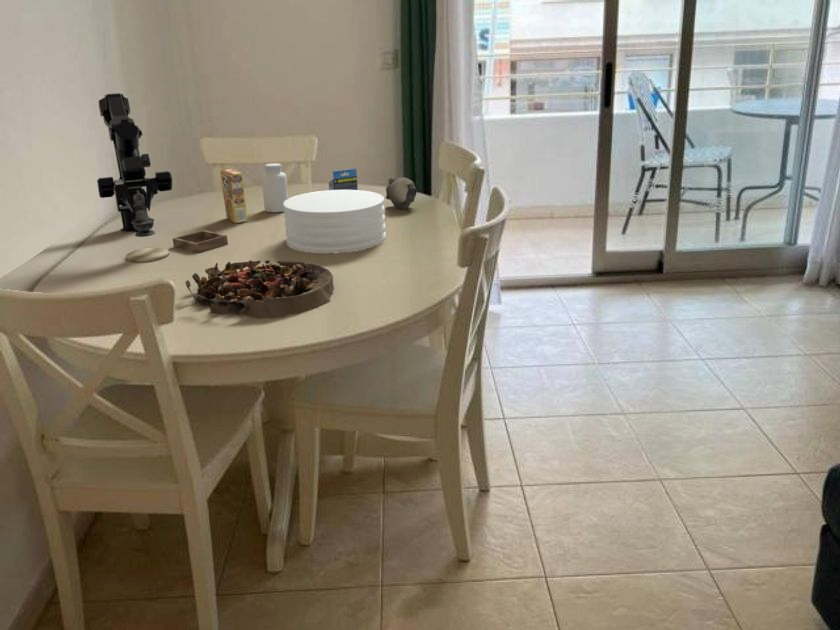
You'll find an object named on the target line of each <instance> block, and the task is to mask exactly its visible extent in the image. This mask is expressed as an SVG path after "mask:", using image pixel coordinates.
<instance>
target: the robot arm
mask: <svg viewBox="0 0 840 630" xmlns="http://www.w3.org/2000/svg"><path fill="white" fill-rule="evenodd" d="M98 109H99V110H98V111H99V114H100V117H102V118H103V123H104V125H106V127H107V128H108V135H109V140H110V142H112V143H113V147H114V152H115V158H116V163H117V169H118V174H119V178H118V179H114V177H113V176H107V177H99V178H98V179H97V180H96V182H97V188H98V189H97V190H98V196H99V198H101V199H104V198H113V197H114V196H115V197H114V198H115V204H116V210H117V211H118V213H120V216H121V222H122V228H120V231H121V232H124V231H125V232H126V231H127V232H129V231H130V232H138V231H137V230H136V229H135V228H134V226H133V224H132V223H131V222H132V221H134V220H135V219H136V213H135V209H134V207H135V205H134V200H133V196H134V195H135V194H136V193H137V190H138V191H139V193H141V194H143V195H144V198H145V204H146V206H147V212H150V211H151V206H152V201H153V198H154V196H155V195H157V194H158V192H169V191H171V190H173V176H172V173H171V172H170V171H169V170H167V171H157V172H156V171H155V173H154V175H155V177H151V178H149V177H146V169H145V168H151V165H152V164H151V159H150V155H149V153H142V154H140V149H139V147H140V140H139V139H140V138H142V136H143V132H142V130H141V129H140V127H139V126H138V125H136V123H135V120H134V119H133V118H132V117H129V116H130V115H131V107H130V102H129V98H127V97H125V96H124V94H123V93H119V92H117V93H106V94H105V95H104V96H103V98H101V99H99V100H98ZM145 189H146V190H145Z"/></svg>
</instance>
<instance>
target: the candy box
mask: <svg viewBox="0 0 840 630" xmlns="http://www.w3.org/2000/svg"><path fill="white" fill-rule="evenodd" d="M220 180H221V187H222V194H223V201H224V202H223V203H224V210H225V217H226V219H228V220H230V221H232V222H233V223H234V224H238V223H239V224H240V223H245V222H248V213H247V204H246V197H245V188H244V180H243V173H242V172H240V171H237V170H236V169H232V168H229V169H223V170H220Z"/></svg>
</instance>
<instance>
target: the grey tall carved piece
mask: <svg viewBox="0 0 840 630" xmlns="http://www.w3.org/2000/svg"><path fill="white" fill-rule="evenodd" d="M133 200H134V205H135V207H134V209H135V213H136V219H135V220H134V221H132V222H131V223H132V224H133V226H134V228H135V229H136V230H137V231H136V233H135V234H134V236H135V237H138V238H144V237H145V238H146V237H150V236H154V235H155V234H156V231H154V230H152V229H153V227H154V224H155V223H154V222H155V219H154V218H152V217H151V218H150V217H149V214H148V208H147V206H146V204H145V198H144V195H143V194H141V193H139V191H138V190H137V193H136V194H135V195H134V196H133Z"/></svg>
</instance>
